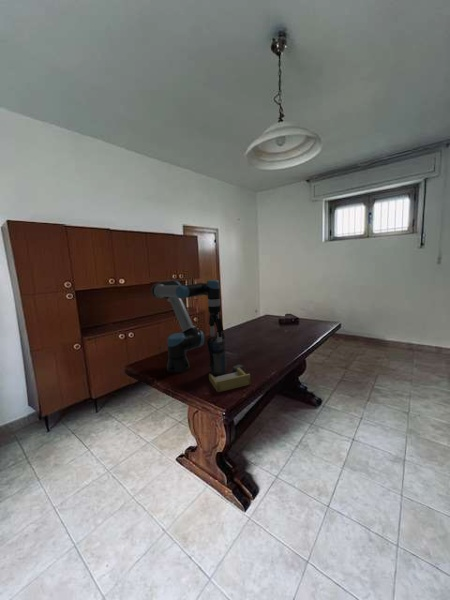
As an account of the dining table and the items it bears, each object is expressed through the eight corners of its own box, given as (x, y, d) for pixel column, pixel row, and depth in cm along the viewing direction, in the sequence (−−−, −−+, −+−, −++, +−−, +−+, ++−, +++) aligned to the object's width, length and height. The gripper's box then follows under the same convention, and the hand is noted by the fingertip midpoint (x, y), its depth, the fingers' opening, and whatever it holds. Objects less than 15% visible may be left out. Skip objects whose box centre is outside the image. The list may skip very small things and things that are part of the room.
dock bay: (217, 392, 135) (217, 382, 134) (209, 380, 150) (208, 370, 149) (250, 384, 142) (250, 374, 141) (239, 373, 157) (239, 364, 156)
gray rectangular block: (236, 373, 157) (236, 368, 157) (232, 371, 161) (232, 366, 160) (243, 370, 161) (243, 366, 161) (239, 368, 164) (239, 364, 164)
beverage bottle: (204, 373, 159) (202, 336, 154) (220, 367, 167) (219, 331, 163) (214, 378, 151) (212, 339, 147) (230, 371, 159) (229, 334, 155)
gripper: (227, 308, 142) (229, 343, 145) (213, 302, 165) (215, 332, 168) (215, 309, 139) (217, 345, 142) (202, 303, 162) (204, 334, 165)
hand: (216, 338), depth 155 cm, fingers open, 13 cm apart
